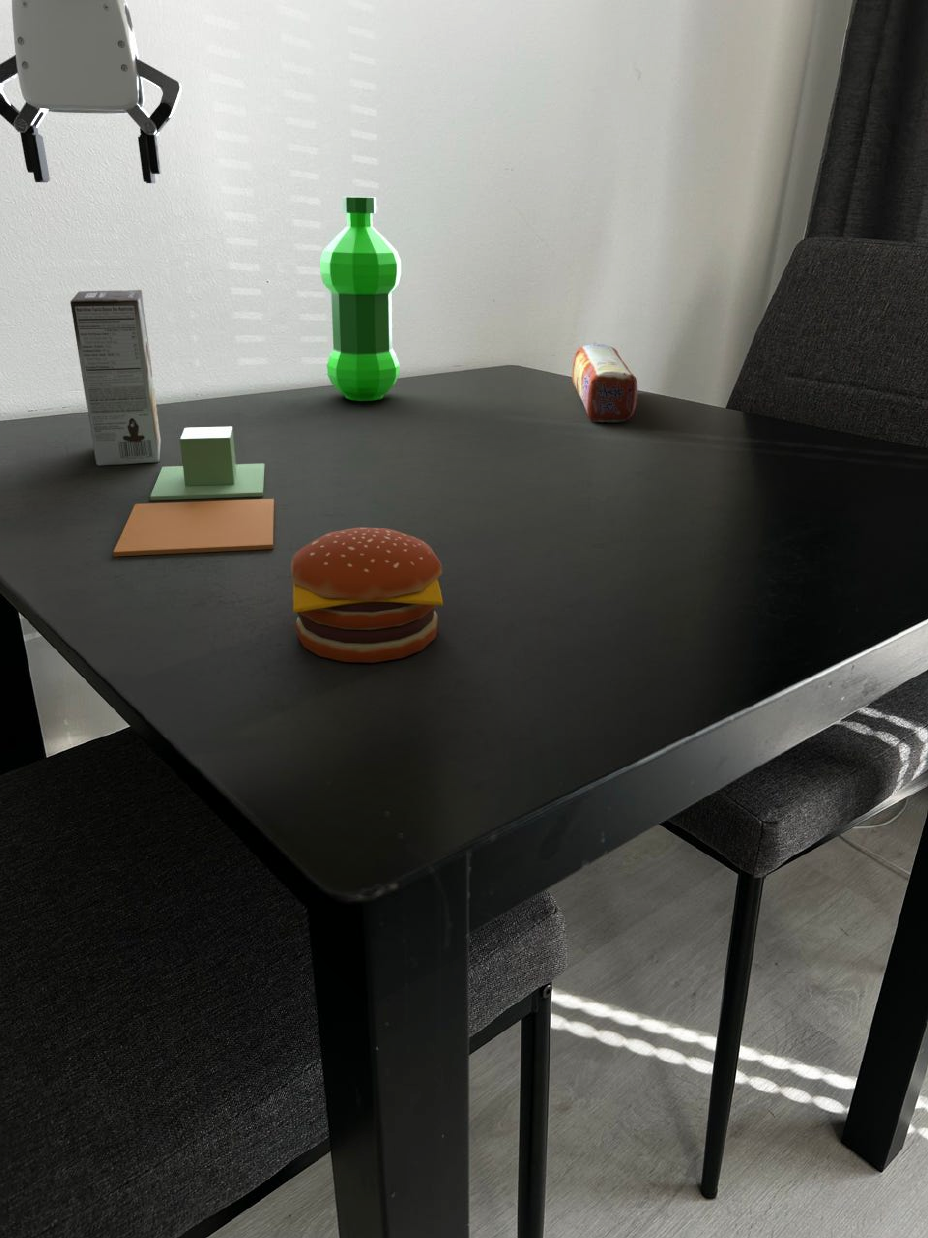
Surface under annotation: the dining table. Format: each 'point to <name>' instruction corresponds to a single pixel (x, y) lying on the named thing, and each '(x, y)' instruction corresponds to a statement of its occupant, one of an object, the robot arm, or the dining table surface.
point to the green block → (208, 456)
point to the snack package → (604, 383)
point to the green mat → (174, 488)
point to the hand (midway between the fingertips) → (96, 182)
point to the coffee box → (117, 376)
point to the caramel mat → (197, 527)
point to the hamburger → (366, 595)
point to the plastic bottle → (361, 304)
